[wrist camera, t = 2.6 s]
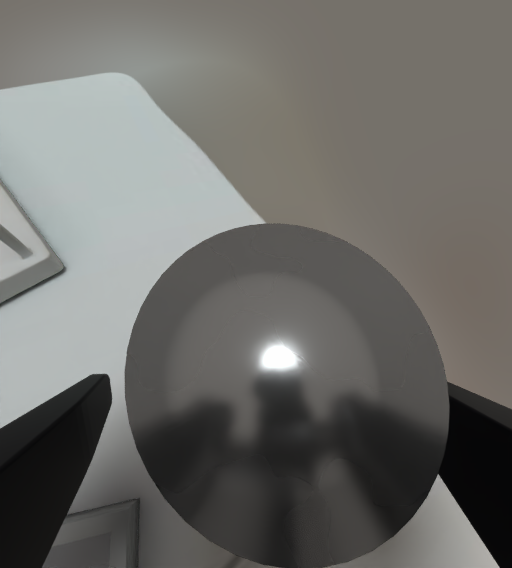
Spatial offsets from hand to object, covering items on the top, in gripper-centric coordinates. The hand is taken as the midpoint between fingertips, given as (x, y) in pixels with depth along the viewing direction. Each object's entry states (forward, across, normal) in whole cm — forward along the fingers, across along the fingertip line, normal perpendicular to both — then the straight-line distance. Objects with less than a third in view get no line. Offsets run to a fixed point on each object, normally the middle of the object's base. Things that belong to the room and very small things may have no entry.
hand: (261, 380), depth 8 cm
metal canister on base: (+6, 0, +6) cm, 8 cm away
